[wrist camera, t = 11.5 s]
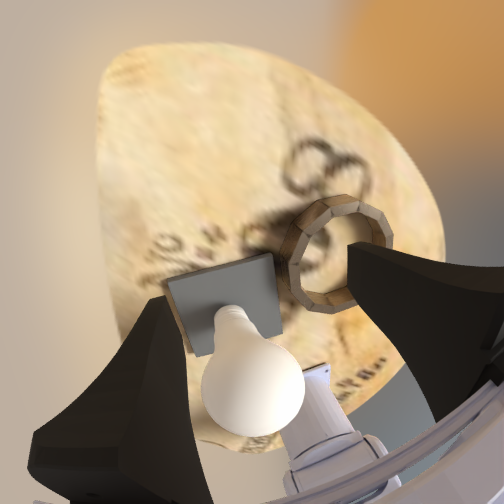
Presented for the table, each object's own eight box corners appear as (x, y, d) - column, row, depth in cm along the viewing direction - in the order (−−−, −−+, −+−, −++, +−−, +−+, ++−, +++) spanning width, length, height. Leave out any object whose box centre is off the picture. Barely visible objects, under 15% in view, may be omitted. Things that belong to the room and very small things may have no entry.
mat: (280, 329, 26) (282, 333, 25) (195, 352, 24) (196, 357, 24) (270, 252, 22) (272, 255, 22) (167, 278, 21) (167, 282, 20)
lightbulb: (186, 339, 23) (204, 457, 13) (194, 275, 21) (217, 400, 11) (256, 340, 25) (300, 445, 15) (272, 281, 22) (338, 387, 13)
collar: (376, 282, 26) (387, 293, 25) (286, 313, 25) (294, 327, 23) (380, 187, 22) (394, 193, 20) (273, 209, 21) (283, 218, 19)
